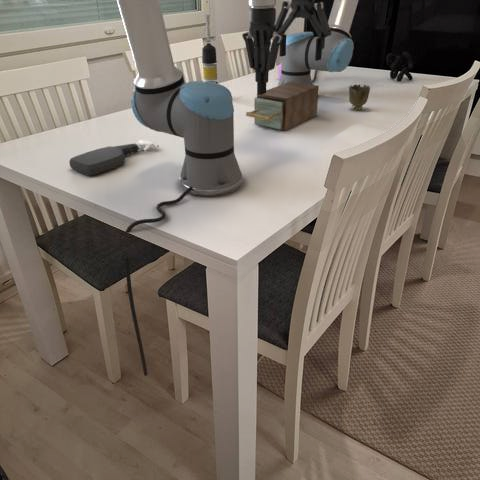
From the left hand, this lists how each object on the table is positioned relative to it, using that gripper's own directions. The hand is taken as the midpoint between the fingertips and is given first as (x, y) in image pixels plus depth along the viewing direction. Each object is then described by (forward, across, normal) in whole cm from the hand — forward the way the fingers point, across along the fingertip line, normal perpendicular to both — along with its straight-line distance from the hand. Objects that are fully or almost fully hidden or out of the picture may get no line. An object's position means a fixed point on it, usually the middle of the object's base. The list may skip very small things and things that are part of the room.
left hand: (261, 93), depth 137 cm
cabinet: (+12, 0, -16) cm, 20 cm away
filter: (+12, +40, -22) cm, 47 cm away
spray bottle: (+12, +19, +43) cm, 48 cm away
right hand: (-7, 0, -22) cm, 23 cm away
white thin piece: (+12, +34, -72) cm, 80 cm away
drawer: (+11, 0, -10) cm, 15 cm away
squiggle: (+12, -10, -94) cm, 95 cm away
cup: (+12, -14, -40) cm, 44 cm away
